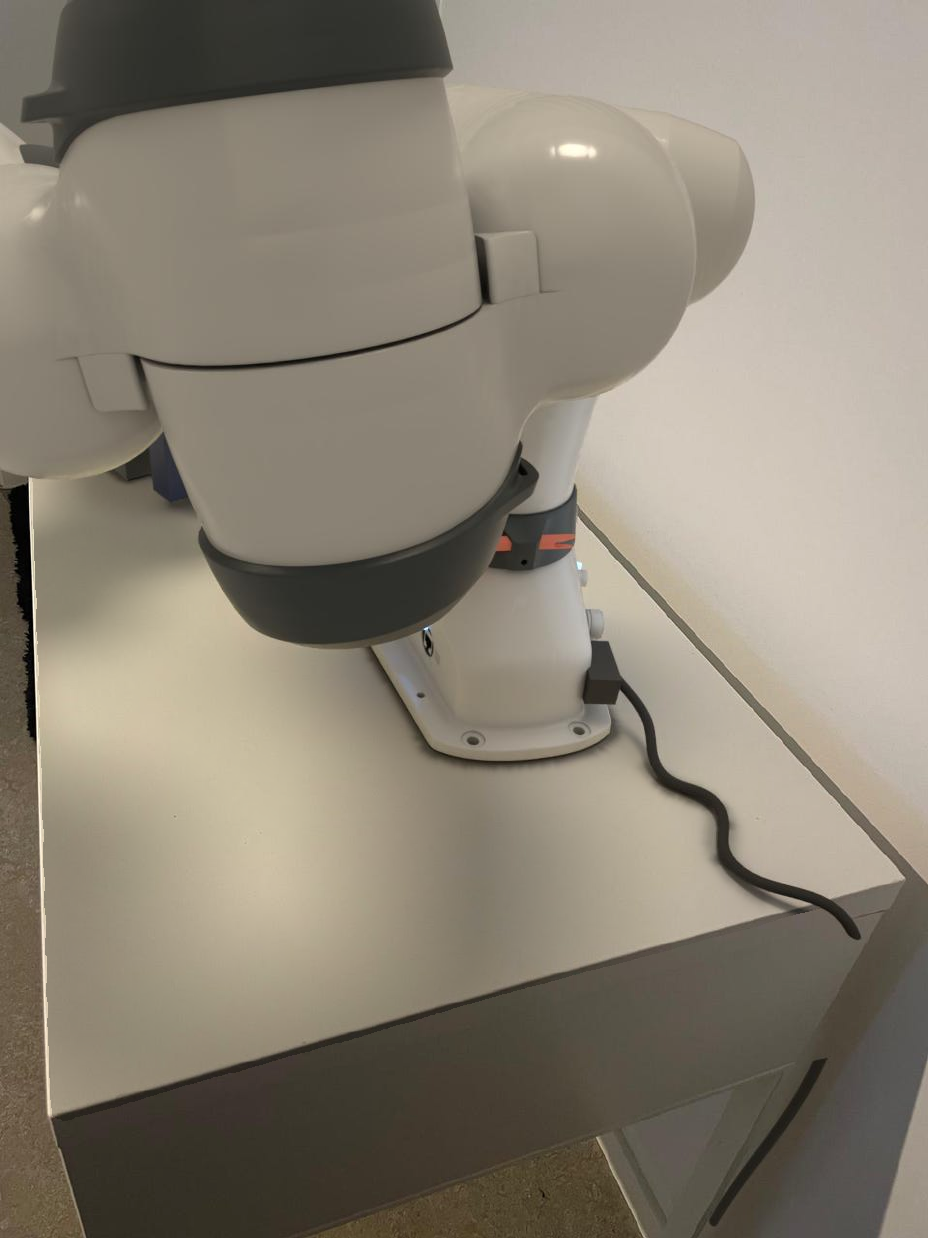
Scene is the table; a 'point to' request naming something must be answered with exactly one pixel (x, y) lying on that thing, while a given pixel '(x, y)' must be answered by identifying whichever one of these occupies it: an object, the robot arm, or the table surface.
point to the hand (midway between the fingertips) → (208, 378)
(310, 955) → the table surface
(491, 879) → the table surface
